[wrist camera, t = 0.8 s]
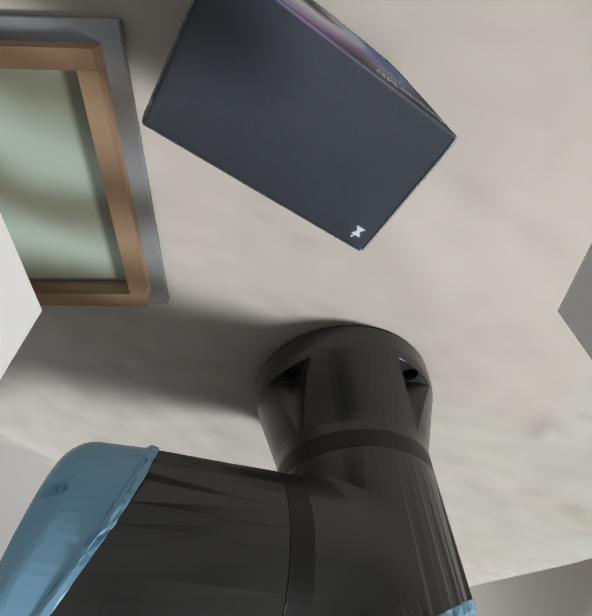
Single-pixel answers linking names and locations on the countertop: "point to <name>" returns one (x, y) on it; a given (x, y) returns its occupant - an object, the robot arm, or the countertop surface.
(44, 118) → the wooden picture frame
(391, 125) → the small box
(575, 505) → the countertop surface
